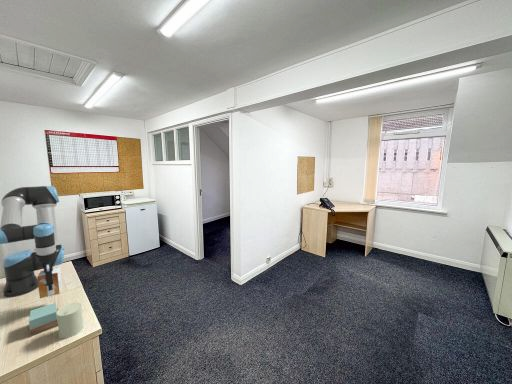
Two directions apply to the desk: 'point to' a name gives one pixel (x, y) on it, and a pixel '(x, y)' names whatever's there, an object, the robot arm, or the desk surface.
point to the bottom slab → (43, 327)
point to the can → (70, 320)
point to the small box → (42, 283)
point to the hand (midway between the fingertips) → (51, 291)
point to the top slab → (42, 315)
